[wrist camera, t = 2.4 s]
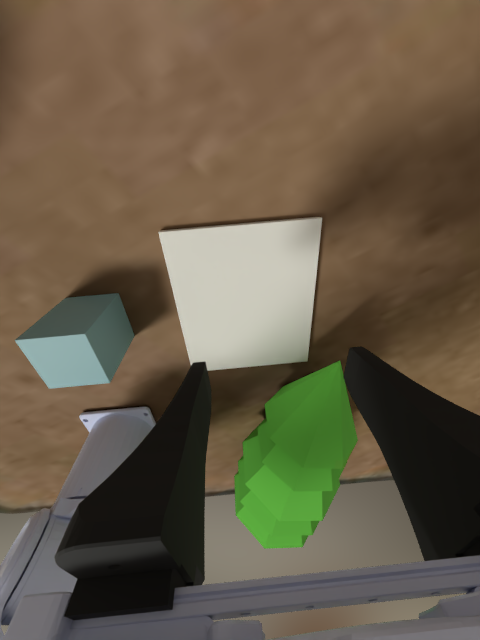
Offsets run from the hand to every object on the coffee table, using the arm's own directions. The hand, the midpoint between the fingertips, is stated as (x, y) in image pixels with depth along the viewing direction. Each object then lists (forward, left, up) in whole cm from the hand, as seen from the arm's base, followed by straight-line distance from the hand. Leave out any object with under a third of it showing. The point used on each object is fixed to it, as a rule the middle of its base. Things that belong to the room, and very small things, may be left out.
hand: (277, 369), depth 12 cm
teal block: (-2, +14, -10) cm, 18 cm away
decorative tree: (-19, -3, -11) cm, 22 cm away
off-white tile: (-2, +1, -10) cm, 11 cm away
